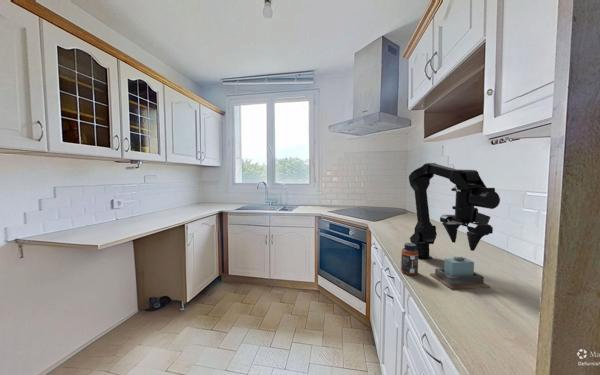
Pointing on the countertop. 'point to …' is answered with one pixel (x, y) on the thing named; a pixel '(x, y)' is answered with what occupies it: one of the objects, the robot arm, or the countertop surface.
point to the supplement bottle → (409, 259)
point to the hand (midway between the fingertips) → (462, 246)
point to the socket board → (459, 280)
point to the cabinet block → (458, 267)
